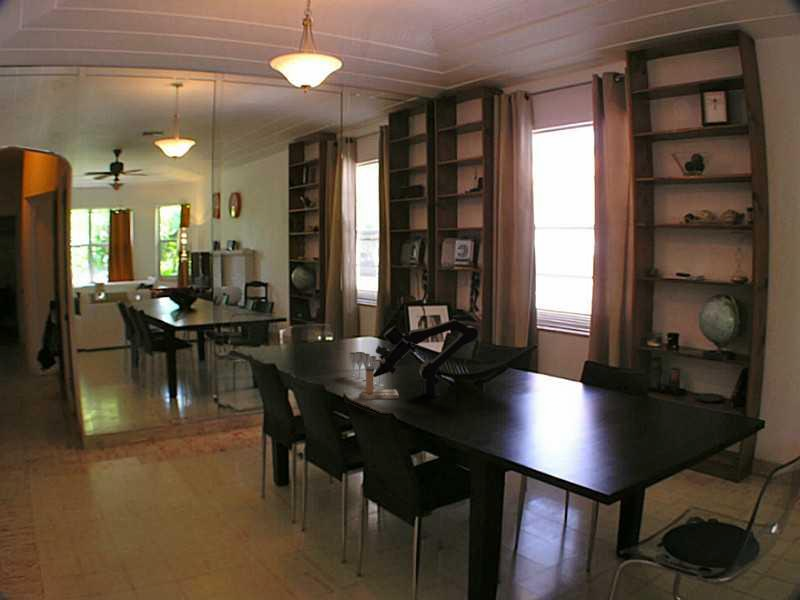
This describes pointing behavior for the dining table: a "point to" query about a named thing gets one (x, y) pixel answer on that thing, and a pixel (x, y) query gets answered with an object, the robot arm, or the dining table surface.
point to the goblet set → (363, 359)
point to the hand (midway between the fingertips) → (373, 376)
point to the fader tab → (369, 378)
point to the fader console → (380, 394)
